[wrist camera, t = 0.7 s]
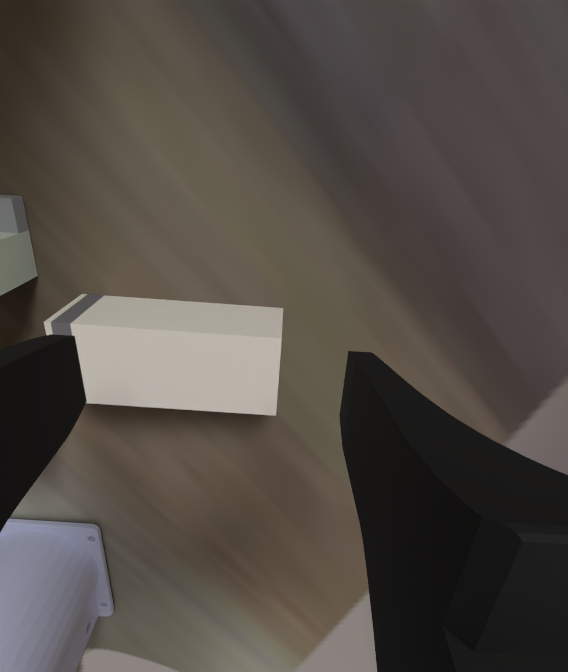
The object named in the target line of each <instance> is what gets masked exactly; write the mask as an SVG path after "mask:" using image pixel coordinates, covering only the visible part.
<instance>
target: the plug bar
mask: <svg viewBox="0 0 568 672" xmlns="http://www.w3.org/2000/svg"><path fill="white" fill-rule="evenodd" d="M282 320H283V308H272V307H258V306H244V305H230V304H216V303H202V302H188V301H174V300H160V299H145V298H131V297H117V296H104V295H95V294H81V295H80V296H79V297H77V298H76V299H74V300H73V301H72V302H70V303H69V304H68V305H66V306H65V307H64V308H62V309H61V310H59V311H58V312H57V313H55V314H54V315H53V316H51V317H50V318H49V319H47V320H46V321H44V326H45V331H46V335H51V334H54V335H71V336H75V340H76V346H77V351H78V357H79V362H80V367H81V373H82V378H83V384H84V389H85V395H86V400H87V401H86V403H92V404H107V405H122V406H138V407H153V408H168V409H183V410H198V411H213V412H228V413H244V414H259V415H274V416H276V407H277V394H278V380H279V367H280V354H281V340H282Z"/></svg>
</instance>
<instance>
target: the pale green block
mask: <svg viewBox="0 0 568 672" xmlns="http://www.w3.org/2000/svg"><path fill="white" fill-rule="evenodd" d="M37 276H38V274H37V269H36V264H35V259H34V254H33V248H32V243H31V238H30V233H29V228H28V223H27V218H26V213H25V208H24V203H23V197H22V196H13V195H0V296H1V295H3V294H5V293H7V292H8V291H10V290H12V289H14V288H16V287H18V286H20V285H22V284H23V283H25V282H27V281H29V280H31V279H33V278H35V277H37Z"/></svg>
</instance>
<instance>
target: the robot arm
mask: <svg viewBox="0 0 568 672" xmlns="http://www.w3.org/2000/svg"><path fill="white" fill-rule="evenodd" d="M86 401H87V400H86V395H85V389H84V384H83V378H82V373H81V367H80V362H79V357H78V351H77V346H76V340H75V336H71V335H54V334H51V335H46V336H42V337H38V338H34V339H31V340H28V341H25V342H22V343H19V344H16V345H13V346H10V347H7V348H5V349H2V350H0V672H76V670H77V668H78V665H79V663H80V660H81V658H82V656H83V653H84V651H85V648H86V646H87V643H88V641H89V638H90V636H91V633H92V631H93V629H94V626H95V624H96V621H97V619H98V616H105V617H108V616H111V615H112V614H113V611H114V604H113V599H112V593H111V587H110V582H109V576H108V570H107V565H106V559H105V553H104V548H103V542H102V537H101V531H100V528H99V527H98V526H97V525H95V524H88V523H72V522H56V521H41V520H25V519H9V518H10V516H11V515H12V513H13V512H14V510H15V509H16V507H17V506H18V504H19V503H20V501H21V500H22V499H23V497H24V496H25V495H26V493H27V492H28V491H29V489H30V488H31V486H32V485H33V484H34V482H35V481H36V480H37V478H38V477H39V476H40V474H41V473H42V471H43V470H44V469H45V467H46V466H47V465H48V463H49V462H50V461H51V459H52V458H53V456H54V455H55V454H56V452H57V451H58V449H59V448H60V447H61V445H62V444H63V442H64V441H65V440H66V438H67V437H68V435H69V434H70V432H71V431H72V429H73V427H74V425H75V423H76V421H77V420H78V418H79V416H80V414H81V412H82V410H83V407H84V405H85V403H86ZM340 425H341V436H342V446H343V451H344V456H345V460H346V465H347V469H348V474H349V478H350V482H351V487H352V491H353V495H354V500H355V504H356V508H357V513H358V517H359V521H360V527H361V532H362V538H363V544H364V552H365V560H366V568H367V576H368V585H369V594H370V603H371V612H372V621H373V630H374V640H375V651H376V662H377V672H568V475H566V474H563V473H561V472H558V471H556V470H553V469H551V468H549V467H547V466H544V465H542V464H540V463H538V462H536V461H533V460H531V459H529V458H526V457H525V456H523V455H521V454H519V453H517V452H515V451H513V450H511V449H509V448H507V447H505V446H503V445H501V444H499V443H497V442H495V441H493V440H491V439H490V438H488V437H486V436H484V435H482V434H481V433H479V432H477V431H476V430H474V429H472V428H471V427H469V426H467V425H466V424H464V423H462V422H461V421H459V420H458V419H456V418H454V417H453V416H451V415H450V414H448V413H447V412H445V411H444V410H443V409H441V408H440V407H439V406H437V405H436V404H434V403H433V402H432V401H430V400H429V399H428V398H426V397H425V396H424V395H422V394H421V393H420V392H418V391H417V390H416V389H415V388H413V387H412V386H411V385H410V384H409V383H407V382H406V381H405V380H404V379H403V378H401V377H400V376H399V375H398V374H397V373H396V372H394V371H393V370H392V369H391V368H390V367H389V366H388V365H386V364H385V363H384V362H383V361H382V360H381V359H379V358H378V357H377V356H376V355H374V354H373V353H371V352H354V351H348V359H347V366H346V373H345V380H344V388H343V395H342V402H341V409H340Z"/></svg>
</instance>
